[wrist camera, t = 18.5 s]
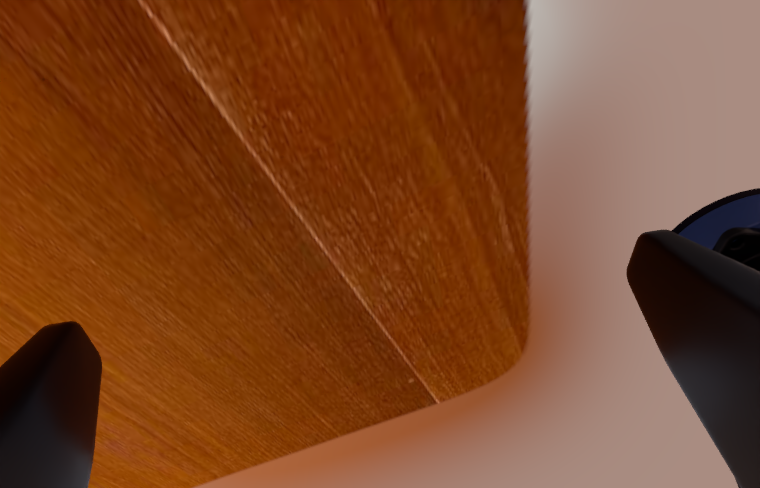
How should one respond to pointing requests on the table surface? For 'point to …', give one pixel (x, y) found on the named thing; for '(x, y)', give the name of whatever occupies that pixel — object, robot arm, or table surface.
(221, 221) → the table surface
